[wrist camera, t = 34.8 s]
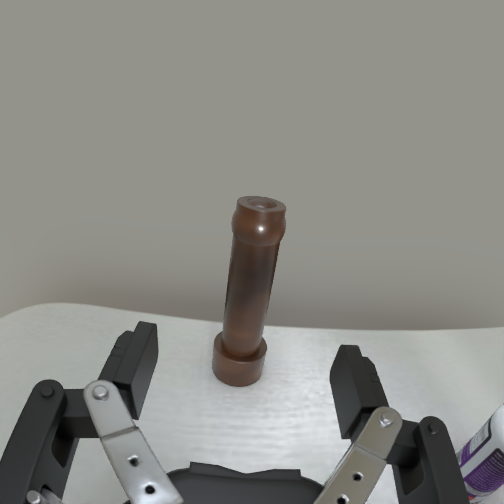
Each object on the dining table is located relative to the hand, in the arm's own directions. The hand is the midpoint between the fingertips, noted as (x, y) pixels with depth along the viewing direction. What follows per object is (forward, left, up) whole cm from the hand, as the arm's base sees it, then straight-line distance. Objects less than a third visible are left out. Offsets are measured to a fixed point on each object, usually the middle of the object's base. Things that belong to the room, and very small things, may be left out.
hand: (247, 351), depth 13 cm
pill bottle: (+16, -11, -12) cm, 23 cm away
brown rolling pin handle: (+4, +9, -11) cm, 15 cm away
